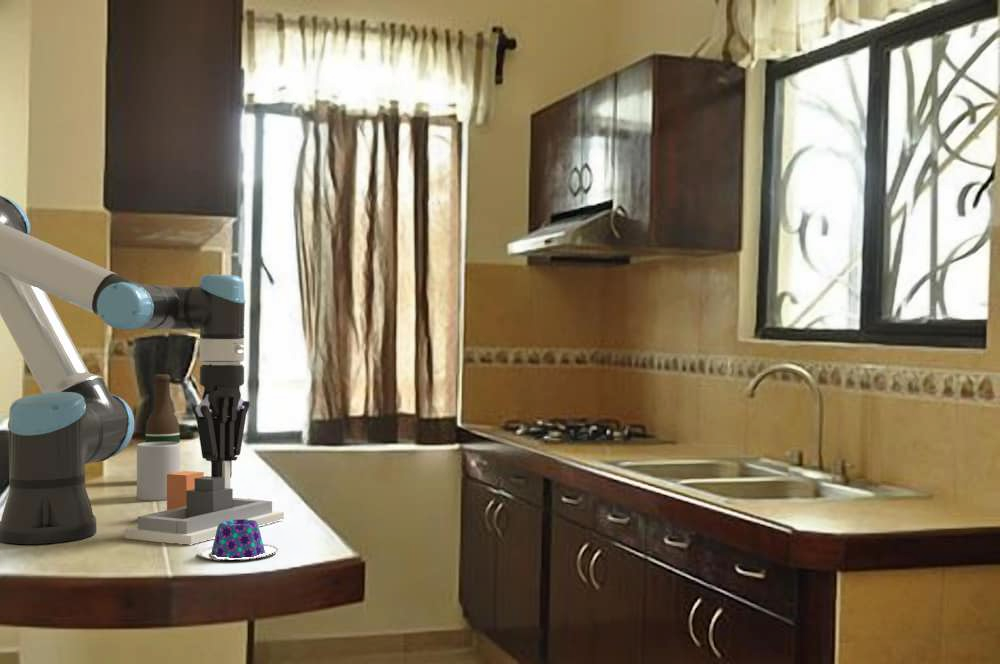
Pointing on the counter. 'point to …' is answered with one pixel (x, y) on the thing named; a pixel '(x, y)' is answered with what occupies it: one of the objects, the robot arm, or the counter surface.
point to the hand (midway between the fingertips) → (221, 498)
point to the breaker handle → (208, 496)
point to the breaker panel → (192, 535)
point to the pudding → (237, 540)
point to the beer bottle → (162, 414)
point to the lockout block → (180, 487)
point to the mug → (156, 468)
